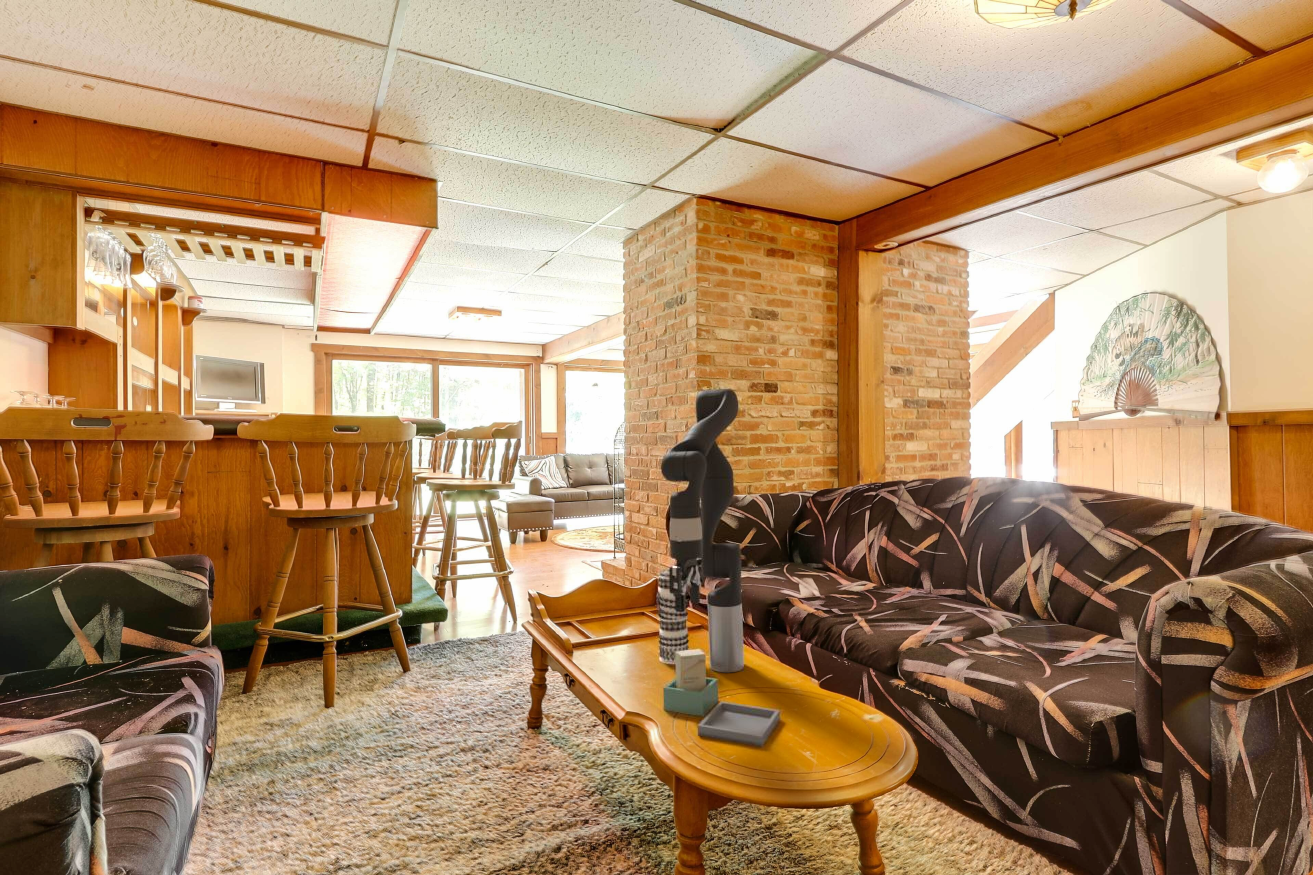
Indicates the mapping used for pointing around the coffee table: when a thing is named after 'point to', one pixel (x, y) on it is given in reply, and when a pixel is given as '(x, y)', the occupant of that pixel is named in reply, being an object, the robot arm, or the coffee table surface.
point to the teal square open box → (691, 698)
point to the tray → (739, 723)
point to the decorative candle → (670, 622)
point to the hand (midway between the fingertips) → (687, 607)
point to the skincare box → (690, 670)
